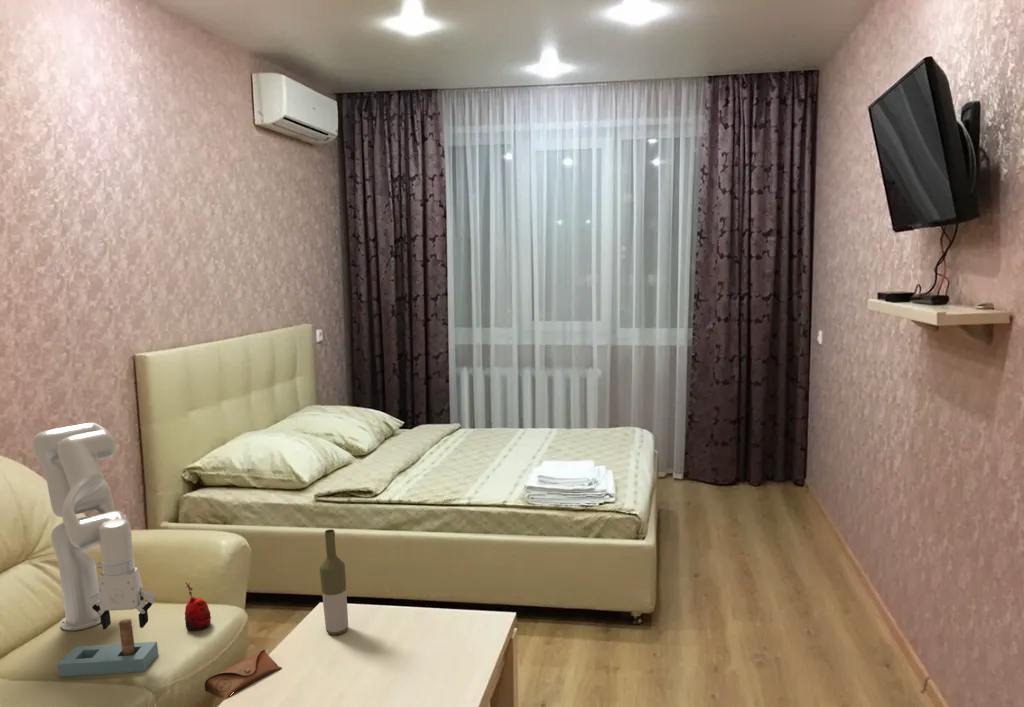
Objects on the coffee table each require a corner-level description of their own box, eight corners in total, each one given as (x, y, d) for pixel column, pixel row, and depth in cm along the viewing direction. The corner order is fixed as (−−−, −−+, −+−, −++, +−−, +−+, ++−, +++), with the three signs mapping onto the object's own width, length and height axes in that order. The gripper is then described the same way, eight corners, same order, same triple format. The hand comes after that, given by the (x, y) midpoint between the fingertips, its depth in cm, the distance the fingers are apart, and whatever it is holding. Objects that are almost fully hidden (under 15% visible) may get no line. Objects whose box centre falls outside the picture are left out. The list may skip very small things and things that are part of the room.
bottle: (351, 633, 218) (344, 533, 214) (326, 639, 216) (318, 537, 211) (347, 622, 225) (339, 524, 220) (323, 628, 222) (315, 529, 218)
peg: (127, 660, 208) (122, 619, 207) (138, 660, 208) (133, 618, 207) (122, 666, 205) (116, 624, 204) (133, 666, 206) (128, 624, 204)
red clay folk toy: (216, 624, 227) (211, 576, 225) (195, 635, 221) (190, 586, 219) (201, 618, 231) (196, 571, 229) (179, 628, 225) (174, 580, 223)
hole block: (76, 658, 211) (75, 646, 210) (158, 653, 212) (156, 641, 211) (59, 676, 202) (57, 664, 201) (144, 671, 203) (142, 659, 202)
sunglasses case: (224, 701, 188) (213, 675, 189) (211, 706, 192) (201, 681, 193) (284, 667, 202) (274, 643, 203) (271, 673, 206) (261, 649, 207)
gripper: (78, 573, 199) (85, 634, 202) (146, 571, 200) (152, 632, 203) (92, 561, 206) (99, 620, 209) (157, 559, 207) (163, 617, 210)
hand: (125, 626), depth 206 cm, fingers open, 9 cm apart
